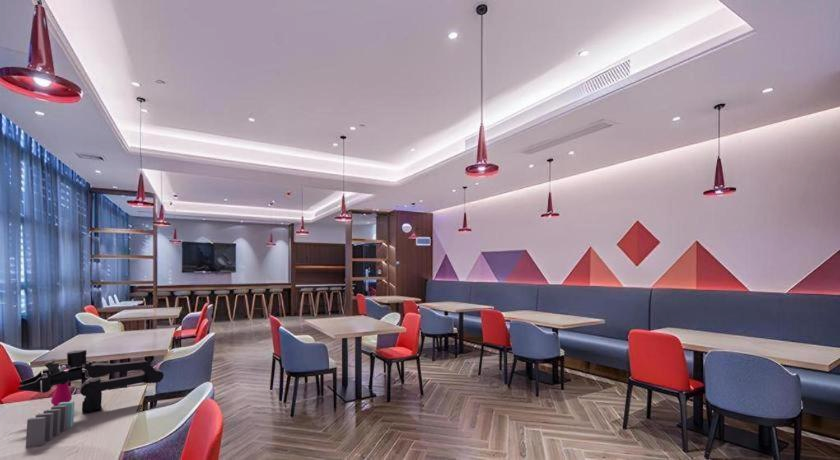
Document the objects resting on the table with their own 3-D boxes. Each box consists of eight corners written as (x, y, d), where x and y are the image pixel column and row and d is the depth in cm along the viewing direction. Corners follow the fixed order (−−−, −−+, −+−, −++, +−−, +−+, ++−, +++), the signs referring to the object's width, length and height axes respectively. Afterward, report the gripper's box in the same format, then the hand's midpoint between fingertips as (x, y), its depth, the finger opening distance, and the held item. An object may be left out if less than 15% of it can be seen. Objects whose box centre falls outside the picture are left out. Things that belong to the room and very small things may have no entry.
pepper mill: (74, 407, 189) (77, 364, 191) (56, 412, 182) (59, 367, 184) (65, 405, 192) (67, 362, 193) (46, 410, 185) (49, 366, 186)
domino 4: (52, 431, 162) (53, 406, 163) (66, 430, 163) (67, 405, 164) (49, 433, 161) (51, 407, 161) (63, 431, 162) (65, 406, 162)
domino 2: (37, 440, 154) (38, 413, 155) (52, 439, 155) (53, 412, 156) (34, 442, 152) (35, 415, 153) (49, 441, 153) (50, 414, 154)
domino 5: (59, 427, 166) (60, 402, 167) (73, 426, 167) (74, 401, 168) (56, 428, 165) (58, 403, 165) (70, 427, 166) (72, 402, 166)
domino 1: (28, 445, 150) (30, 417, 151) (44, 444, 151) (46, 416, 152) (25, 447, 148) (27, 419, 149) (41, 445, 149) (43, 418, 150)
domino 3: (44, 435, 158) (46, 409, 159) (59, 434, 159) (61, 408, 160) (41, 437, 156) (43, 411, 157) (56, 436, 157) (58, 410, 158)
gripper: (66, 354, 187) (19, 362, 176) (67, 361, 173) (16, 371, 162) (67, 378, 186) (20, 388, 176) (68, 387, 173) (17, 399, 162)
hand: (18, 385), depth 169 cm, fingers open, 9 cm apart
